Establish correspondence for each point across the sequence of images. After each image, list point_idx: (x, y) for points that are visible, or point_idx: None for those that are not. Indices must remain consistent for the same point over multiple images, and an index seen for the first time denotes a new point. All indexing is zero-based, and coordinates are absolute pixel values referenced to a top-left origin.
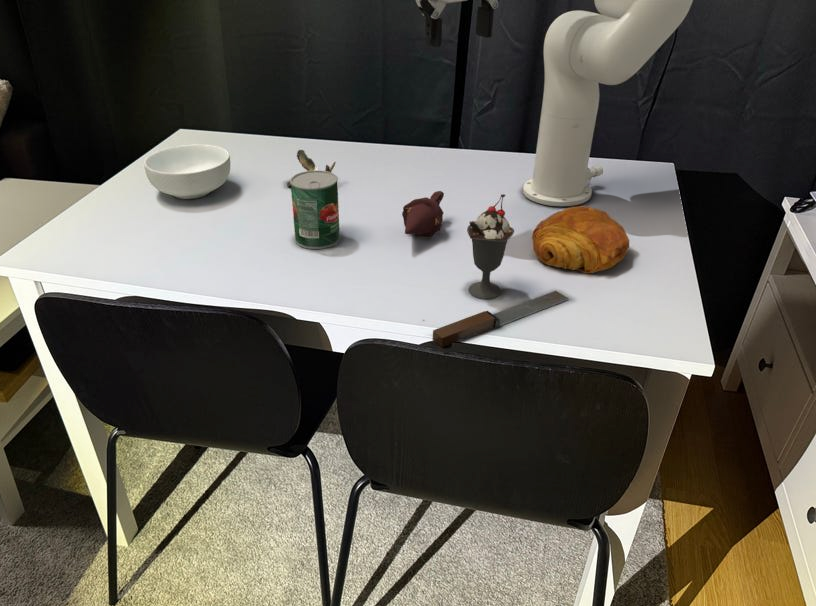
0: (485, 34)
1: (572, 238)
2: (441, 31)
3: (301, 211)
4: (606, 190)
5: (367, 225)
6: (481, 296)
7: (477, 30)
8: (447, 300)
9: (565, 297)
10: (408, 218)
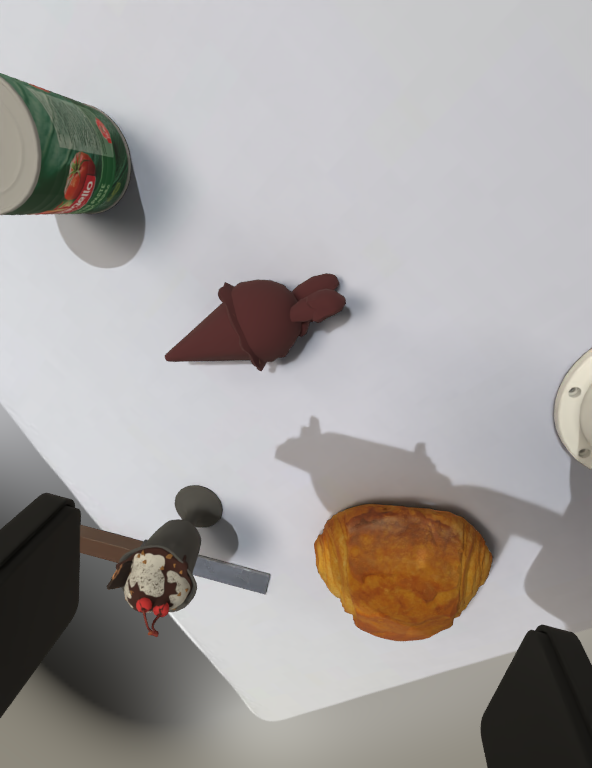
0: (490, 724)
1: (342, 595)
2: (7, 703)
3: None
4: None
5: (206, 190)
6: (179, 514)
7: (536, 667)
8: (140, 482)
9: (264, 591)
10: (198, 330)
